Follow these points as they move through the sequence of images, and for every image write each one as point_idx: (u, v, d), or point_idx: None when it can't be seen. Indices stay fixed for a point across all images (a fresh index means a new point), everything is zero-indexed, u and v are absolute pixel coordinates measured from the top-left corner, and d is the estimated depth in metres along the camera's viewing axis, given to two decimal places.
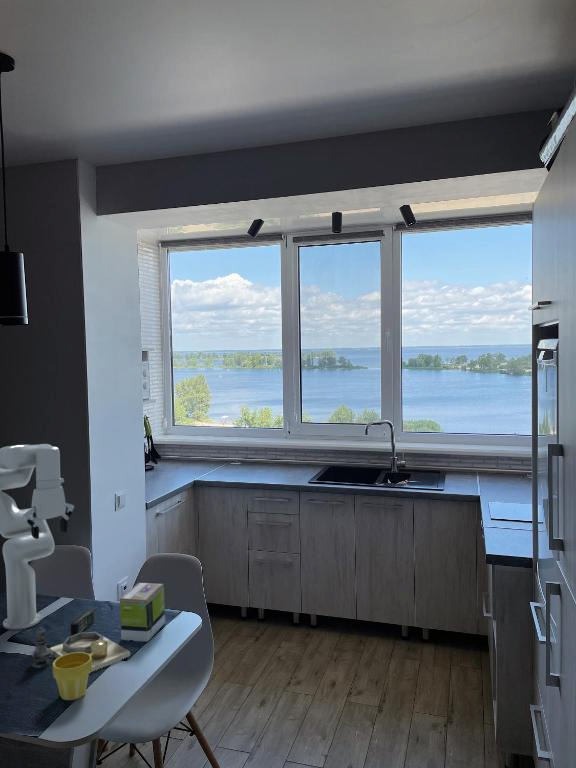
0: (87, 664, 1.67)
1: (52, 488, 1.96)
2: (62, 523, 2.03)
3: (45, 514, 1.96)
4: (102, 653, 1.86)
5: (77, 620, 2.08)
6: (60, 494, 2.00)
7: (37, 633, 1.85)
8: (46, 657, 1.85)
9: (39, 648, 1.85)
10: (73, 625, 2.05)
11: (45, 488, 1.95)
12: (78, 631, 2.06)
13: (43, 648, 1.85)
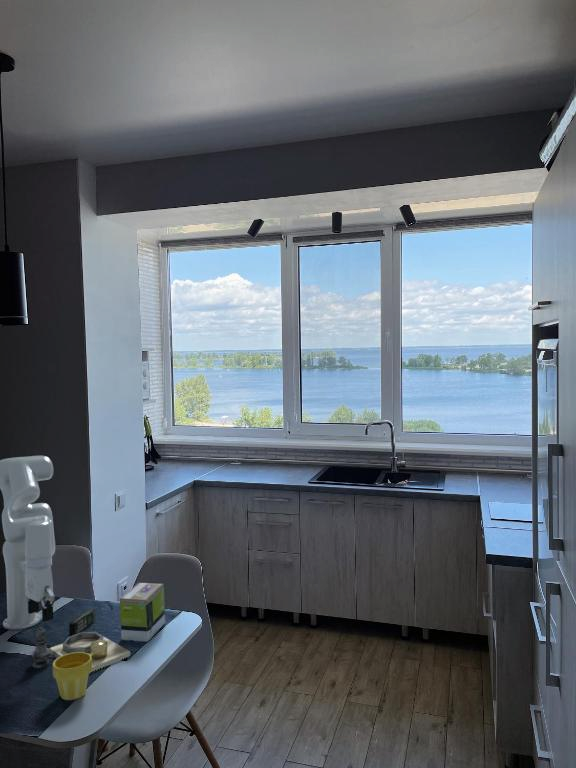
0: (87, 664, 1.67)
1: None
2: (34, 603, 1.89)
3: None
4: (102, 653, 1.86)
5: (76, 619, 2.08)
6: None
7: (37, 633, 1.85)
8: (46, 657, 1.85)
9: (39, 648, 1.85)
10: (71, 624, 2.05)
11: (51, 563, 1.86)
12: (77, 630, 2.07)
13: (43, 648, 1.85)
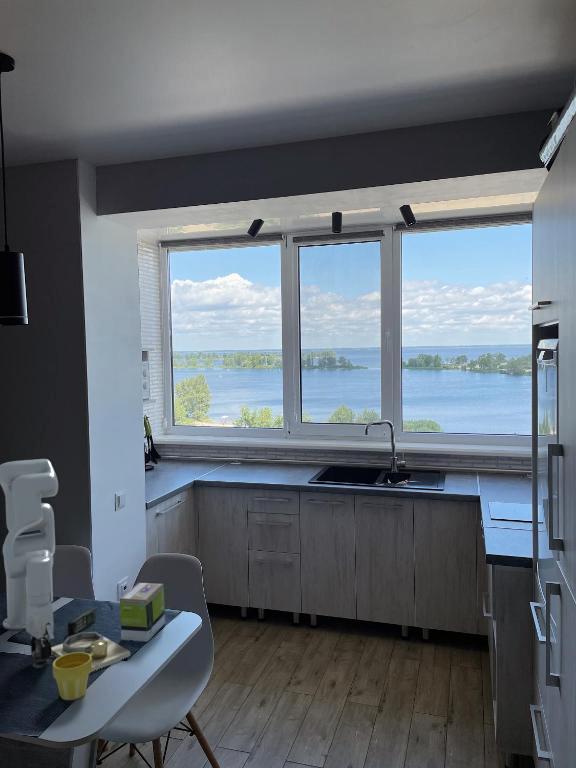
0: (87, 664, 1.67)
1: None
2: None
3: None
4: (102, 653, 1.86)
5: (75, 619, 2.08)
6: None
7: None
8: None
9: (39, 648, 1.85)
10: (70, 624, 2.06)
11: (52, 599, 1.86)
12: (75, 630, 2.07)
13: None
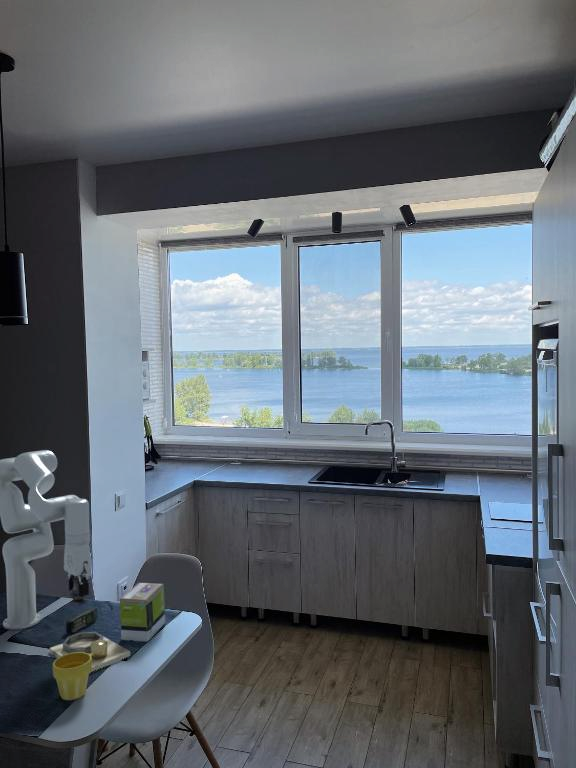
0: (87, 664, 1.67)
1: None
2: None
3: None
4: (102, 653, 1.86)
5: (73, 618, 2.09)
6: None
7: None
8: None
9: (77, 586, 1.92)
10: (67, 623, 2.07)
11: (89, 540, 1.93)
12: (73, 629, 2.08)
13: None
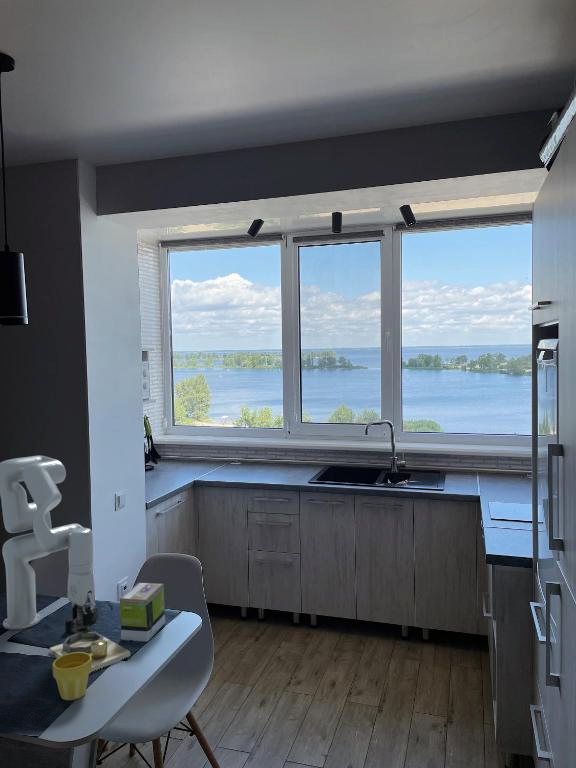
0: (87, 664, 1.67)
1: None
2: None
3: None
4: (102, 653, 1.86)
5: None
6: None
7: None
8: None
9: (81, 615, 1.93)
10: (66, 622, 2.07)
11: None
12: (72, 628, 2.08)
13: None
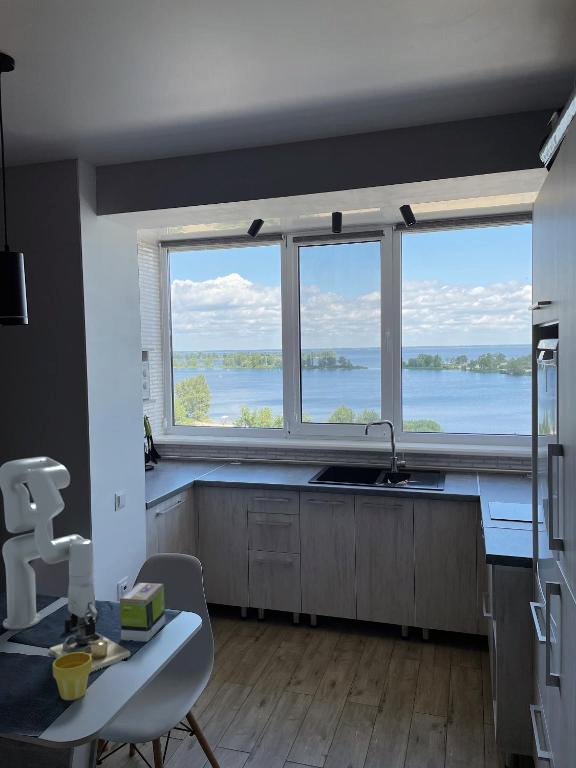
0: (87, 664, 1.67)
1: None
2: (76, 617, 1.97)
3: None
4: (102, 653, 1.86)
5: None
6: None
7: None
8: (88, 639, 1.93)
9: (81, 631, 1.93)
10: (66, 621, 2.08)
11: (93, 580, 1.94)
12: (72, 628, 2.09)
13: (84, 631, 1.94)
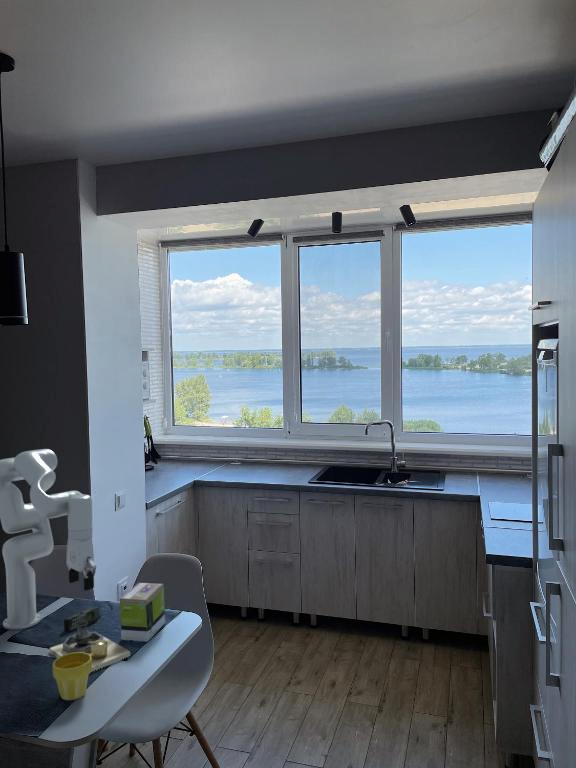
0: (87, 664, 1.67)
1: None
2: (74, 572, 1.97)
3: None
4: (102, 653, 1.86)
5: (71, 616, 2.11)
6: None
7: (79, 616, 1.93)
8: (88, 639, 1.93)
9: (81, 631, 1.93)
10: (65, 620, 2.09)
11: (92, 535, 1.94)
12: (71, 627, 2.10)
13: (84, 630, 1.94)
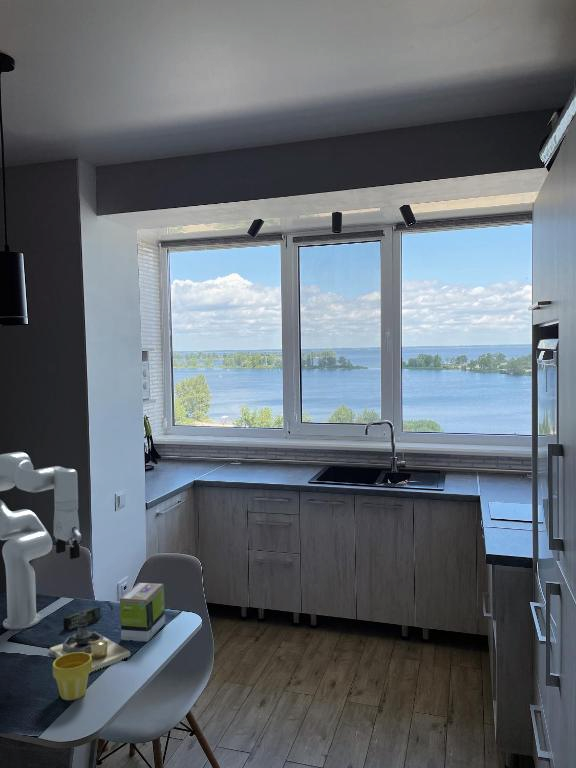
0: (87, 664, 1.67)
1: None
2: (61, 543, 2.07)
3: None
4: (102, 653, 1.86)
5: (71, 615, 2.12)
6: None
7: (79, 616, 1.93)
8: (88, 639, 1.93)
9: (81, 630, 1.93)
10: (64, 619, 2.10)
11: (77, 507, 2.04)
12: (70, 626, 2.11)
13: (84, 630, 1.94)
